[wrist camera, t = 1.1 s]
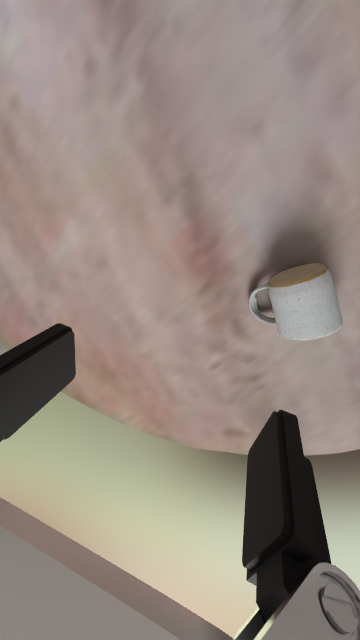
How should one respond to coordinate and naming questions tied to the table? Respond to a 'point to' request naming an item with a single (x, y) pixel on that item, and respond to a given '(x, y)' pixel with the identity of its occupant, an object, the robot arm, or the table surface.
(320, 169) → the table surface
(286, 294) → the ceramic mug
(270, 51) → the table surface
